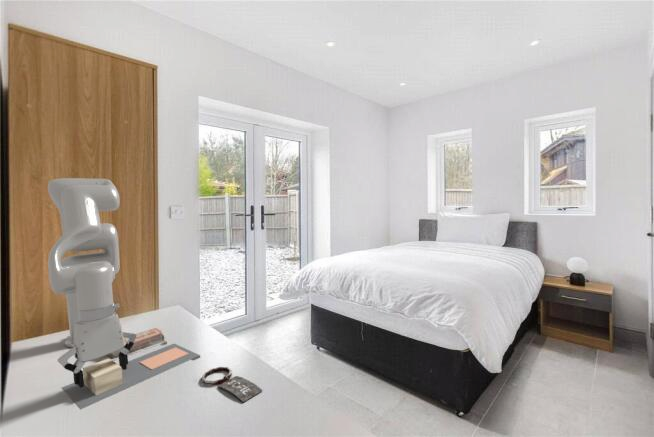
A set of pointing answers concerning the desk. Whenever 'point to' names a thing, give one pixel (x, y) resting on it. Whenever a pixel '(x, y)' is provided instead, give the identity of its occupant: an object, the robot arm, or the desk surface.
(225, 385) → the keychain
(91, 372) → the birch tile
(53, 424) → the desk surface
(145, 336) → the packaged product
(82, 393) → the mat
